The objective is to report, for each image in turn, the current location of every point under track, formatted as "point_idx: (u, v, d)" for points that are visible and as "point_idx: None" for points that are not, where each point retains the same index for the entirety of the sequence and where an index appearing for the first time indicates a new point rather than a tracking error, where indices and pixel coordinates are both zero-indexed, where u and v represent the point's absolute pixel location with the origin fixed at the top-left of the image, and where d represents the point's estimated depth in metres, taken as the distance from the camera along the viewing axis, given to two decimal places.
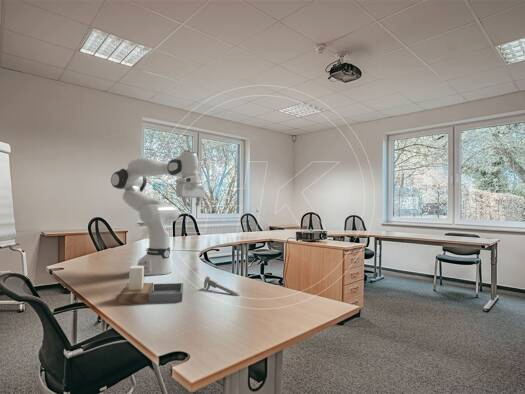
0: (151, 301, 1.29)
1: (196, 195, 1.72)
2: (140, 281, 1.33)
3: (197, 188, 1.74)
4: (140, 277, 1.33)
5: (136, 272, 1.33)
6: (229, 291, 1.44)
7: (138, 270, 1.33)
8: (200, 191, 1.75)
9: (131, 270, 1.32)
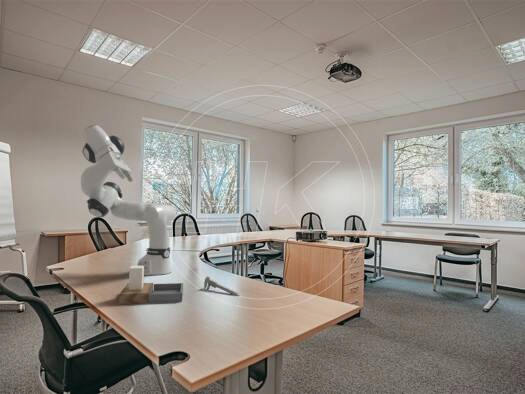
0: (151, 301, 1.29)
1: (125, 167, 1.46)
2: (140, 281, 1.33)
3: (121, 162, 1.48)
4: (140, 277, 1.33)
5: (136, 272, 1.33)
6: (229, 291, 1.44)
7: (138, 270, 1.33)
8: (125, 166, 1.50)
9: (131, 270, 1.32)
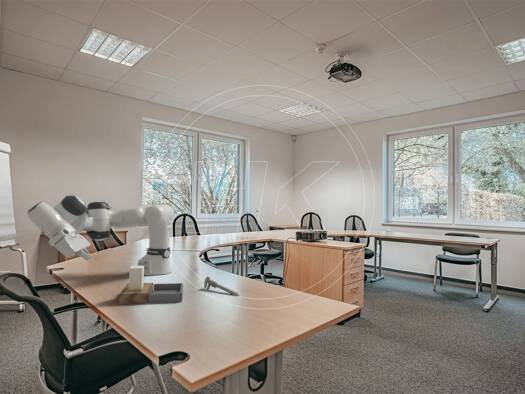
0: (151, 301, 1.29)
1: (83, 245, 1.32)
2: (140, 281, 1.33)
3: (77, 238, 1.33)
4: (140, 277, 1.33)
5: (136, 272, 1.33)
6: (229, 291, 1.44)
7: (138, 270, 1.33)
8: (83, 240, 1.35)
9: (131, 270, 1.32)
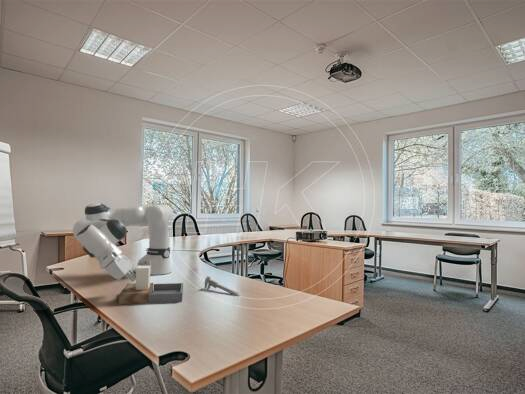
0: (151, 301, 1.29)
1: (129, 266, 1.36)
2: (147, 281, 1.34)
3: (123, 259, 1.37)
4: (147, 277, 1.34)
5: (143, 272, 1.33)
6: (229, 291, 1.44)
7: (145, 270, 1.33)
8: (127, 261, 1.39)
9: (138, 270, 1.33)
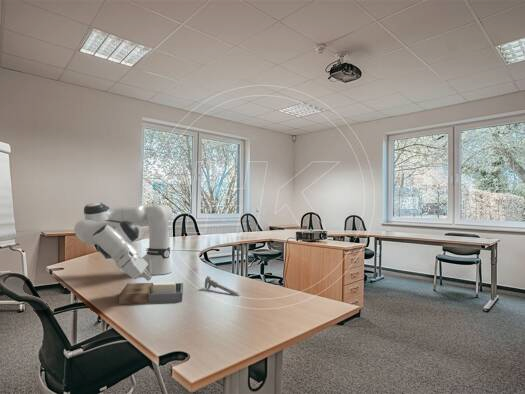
0: (151, 301, 1.29)
1: (144, 265, 1.37)
2: None
3: (138, 259, 1.38)
4: None
5: (170, 291, 1.36)
6: (229, 291, 1.44)
7: (172, 292, 1.36)
8: (142, 261, 1.40)
9: (172, 286, 1.36)
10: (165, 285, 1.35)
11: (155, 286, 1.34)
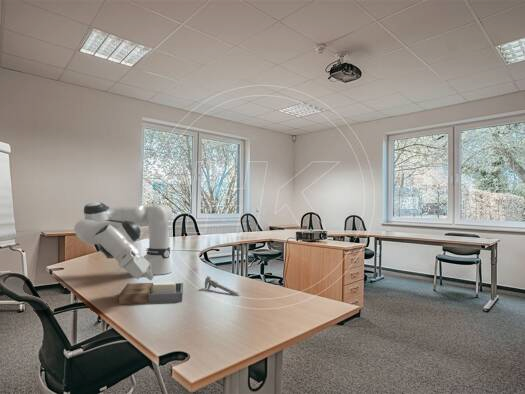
0: (151, 301, 1.29)
1: (146, 265, 1.37)
2: None
3: (140, 259, 1.38)
4: None
5: (170, 291, 1.36)
6: (230, 291, 1.44)
7: (172, 292, 1.36)
8: (144, 260, 1.41)
9: (172, 286, 1.36)
10: (165, 285, 1.35)
11: (155, 286, 1.34)
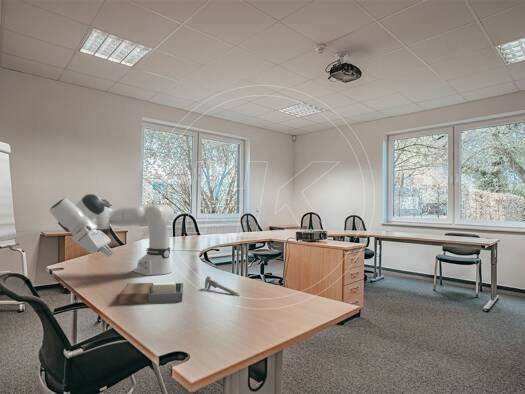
0: (151, 301, 1.29)
1: (105, 241, 1.33)
2: None
3: (99, 235, 1.34)
4: None
5: (170, 291, 1.36)
6: (230, 291, 1.44)
7: (172, 292, 1.36)
8: (104, 237, 1.36)
9: (172, 286, 1.36)
10: (165, 285, 1.35)
11: (155, 286, 1.34)
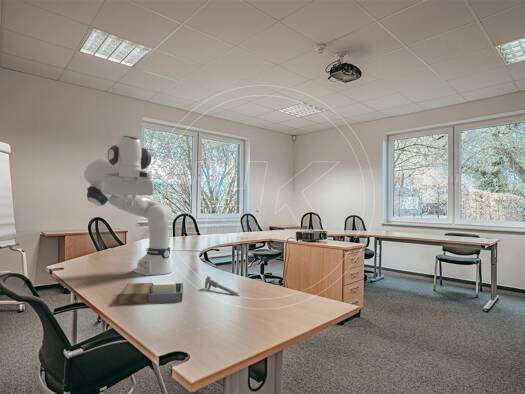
0: (151, 301, 1.29)
1: None
2: None
3: None
4: None
5: (170, 291, 1.36)
6: (230, 291, 1.44)
7: (172, 292, 1.36)
8: None
9: (172, 286, 1.36)
10: (165, 285, 1.35)
11: (155, 286, 1.34)
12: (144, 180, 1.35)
